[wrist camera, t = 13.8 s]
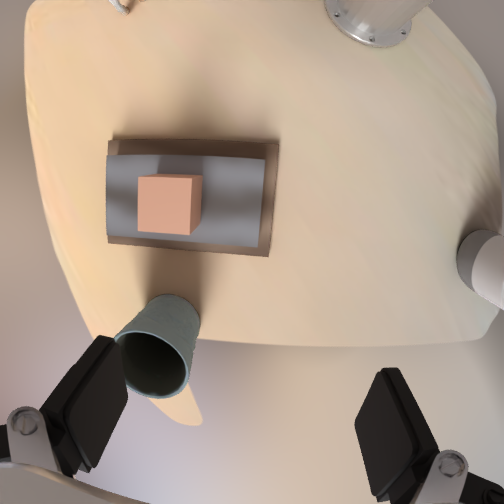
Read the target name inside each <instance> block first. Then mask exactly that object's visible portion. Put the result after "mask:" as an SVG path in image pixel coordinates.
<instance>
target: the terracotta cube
mask: <svg viewBox="0 0 504 504" xmlns="http://www.w3.org/2000/svg"><path fill="white" fill-rule="evenodd" d="M202 181H203V175H182V174H151V175H145V176H140V177H138V231H143V232H156V233H170V234H182V235H190V234H191V233H192V232H193V231H194V230H195V229H196V228H197V227H198V225H199V224H200V220H201V199H202Z"/></svg>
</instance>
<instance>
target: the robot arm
mask: <svg viewBox="0 0 504 504" xmlns="http://www.w3.org/2000/svg"><path fill="white" fill-rule="evenodd" d="M432 1H434V0H325V7H326V11H327V13H328V15H329V17H330V18H331V20H332V21H333V23H334V24H335V25H336V26H337V27H338V28H339V29H340V30H341V31H342V32H343V33H345V34H346V35H347V36H349V37H351V38H352V39H354V40H356V41H358V42H360V43H362V44H365V45H369V46H372V47H380V48H381V47H391V46H395V45H397V44H399V43H400V42H402V41H403V40H404V39H405V38H406V37H407V36H408V35H409V32H410V30H411V24H412V22H411V19H412V18H413V17H414V16H415V15H416V14H418V13H419V12H420V11H421V10H422V9H424V8H425V7H426V6H427V5H429V4H430V3H431V2H432ZM335 16H337V17H335ZM370 40H371V41H370ZM127 400H128V393H127V387H126V382H125V377H124V371H123V366H122V360H121V353H120V347H119V344H118V343H116V342H115V339H114V338H111V337H106V336H102V335H99V336H97V338H96V339H95V340H94V341H93V343H92V344H91V345H90V346H89V347H88V349H87V350H86V351H85V352H84V354H83V355H82V356H81V358H80V359H79V360H78V361H77V363H76V364H74V365H73V366H72V367H71V368H70V369H69V371H68V372H67V373H66V375H65V376H64V377H63V379H62V380H61V381H60V383H59V384H58V385H57V386H56V388H55V389H54V390H53V392H52V393H51V395H50V396H49V397H48V398H47V400H46V401H45V403H44V404H43V405H42V407H41V408H40V409H39V410H37V409H35V408H33V407H29V406H28V407H27V406H25V407H20V408H17V409H15V410H14V411H12V412H11V413H10V415H9V416H8V419H7V424H5V425H0V504H149V503H145V502H141V501H138V500H134V499H131V498H128V497H124V496H121V495H118V494H115V493H112V492H108V491H105V490H103V489H100V488H97V487H94V486H91V485H89V484H86V483H83V482H81V481H78V480H77V479H76V477H75V474H76V473H77V471H78V469H79V470H81V471H84V472H86V473H89V472H90V470H91V468H92V467H93V468H95V467H96V466H97V465H98V462H99V460H100V458H101V456H102V454H103V451H104V449H105V447H106V445H107V443H108V441H109V439H110V437H111V434H112V432H113V430H114V428H115V426H116V424H117V422H118V420H119V418H120V415H121V414H122V412H123V410H124V407H125V406H126V403H127ZM355 430H356V434H357V437H358V441H359V445H360V449H361V453H362V456H363V460H364V464H365V468H366V472H367V476H368V480H369V484H370V489H371V493H372V495H373V496H376V498H377V502H383V501H388V500H390V503H391V504H504V489H503V488H502V487H501V486H500V485H498V484H496V483H493V482H491V481H488V480H486V479H484V478H481V477H479V476H477V475H474V474H472V473H470V472H468V467H469V466H468V463H467V460H466V459H465V457H464V456H463V455H462V454H461V453H459V452H457V451H454V450H444V451H441V452H440V451H439V449H438V445H437V443H436V441H435V439H434V437H433V435H432V433H431V430H430V428H429V426H428V424H427V422H426V420H425V418H424V416H423V414H422V412H421V410H420V408H419V406H418V404H417V402H416V400H415V398H414V397H413V394H412V392H411V391H410V389H409V387H408V385H407V383H406V381H405V379H404V377H403V375H402V374H401V372H400V370H399V369H398V368H383V369H382V370H381V371H380V372H377V374H376V376H375V378H374V381H373V383H372V385H371V388H370V389H369V392H368V394H367V396H366V398H365V400H364V403H363V405H362V407H361V409H360V411H359V413H358V415H357V417H356V419H355Z"/></svg>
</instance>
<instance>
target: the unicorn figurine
mask: <svg viewBox="0 0 504 504" xmlns="http://www.w3.org/2000/svg"><path fill="white" fill-rule="evenodd" d="M108 1H109V2H110V3H111V4H112V5H114V7H115V8H116V9H117V11H118V12H121V14H123V15H127V14H128V13H129V8H128V7H125V6H124V5H121V4H120V2H119V0H108ZM139 1H145V0H139Z"/></svg>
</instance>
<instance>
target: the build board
mask: <svg viewBox="0 0 504 504" xmlns="http://www.w3.org/2000/svg"><path fill="white" fill-rule="evenodd" d="M278 149H279V145H277V144H267V143H254V142H240V141H223V140H197V139H135V140H110V141H108V155H107V161H106V229H107V235H108V243H112V244H123V245H134V246H146V247H157V248H169V249H180V250H192V251H203V252H215V253H227V254H238V255H250V256H262V257H269V247H270V236H271V226H272V216H273V205H274V194H275V183H276V172H277V161H278ZM151 174H182V175H203V181H202V199H201V220H200V224H199V225H198V227H197V228H196V229H195V230H194V231H193V232H192V233H191V234H190V235H182V234H170V233H156V232H143V231H138V177H140V176H145V175H151Z"/></svg>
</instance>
